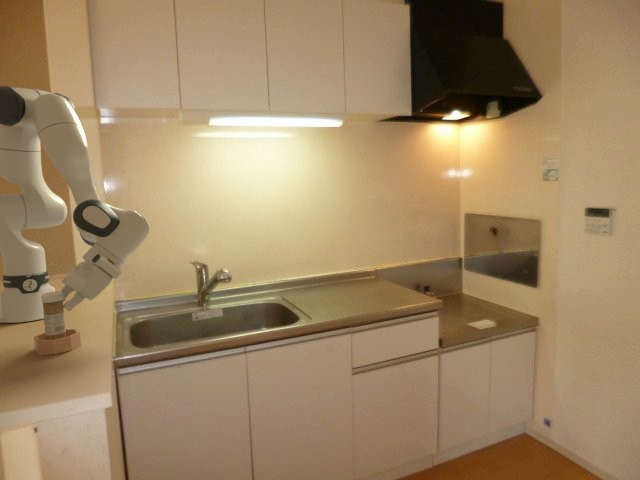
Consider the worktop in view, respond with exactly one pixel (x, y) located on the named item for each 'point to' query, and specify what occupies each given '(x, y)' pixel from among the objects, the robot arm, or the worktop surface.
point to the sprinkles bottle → (53, 315)
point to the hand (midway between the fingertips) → (61, 305)
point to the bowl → (57, 343)
